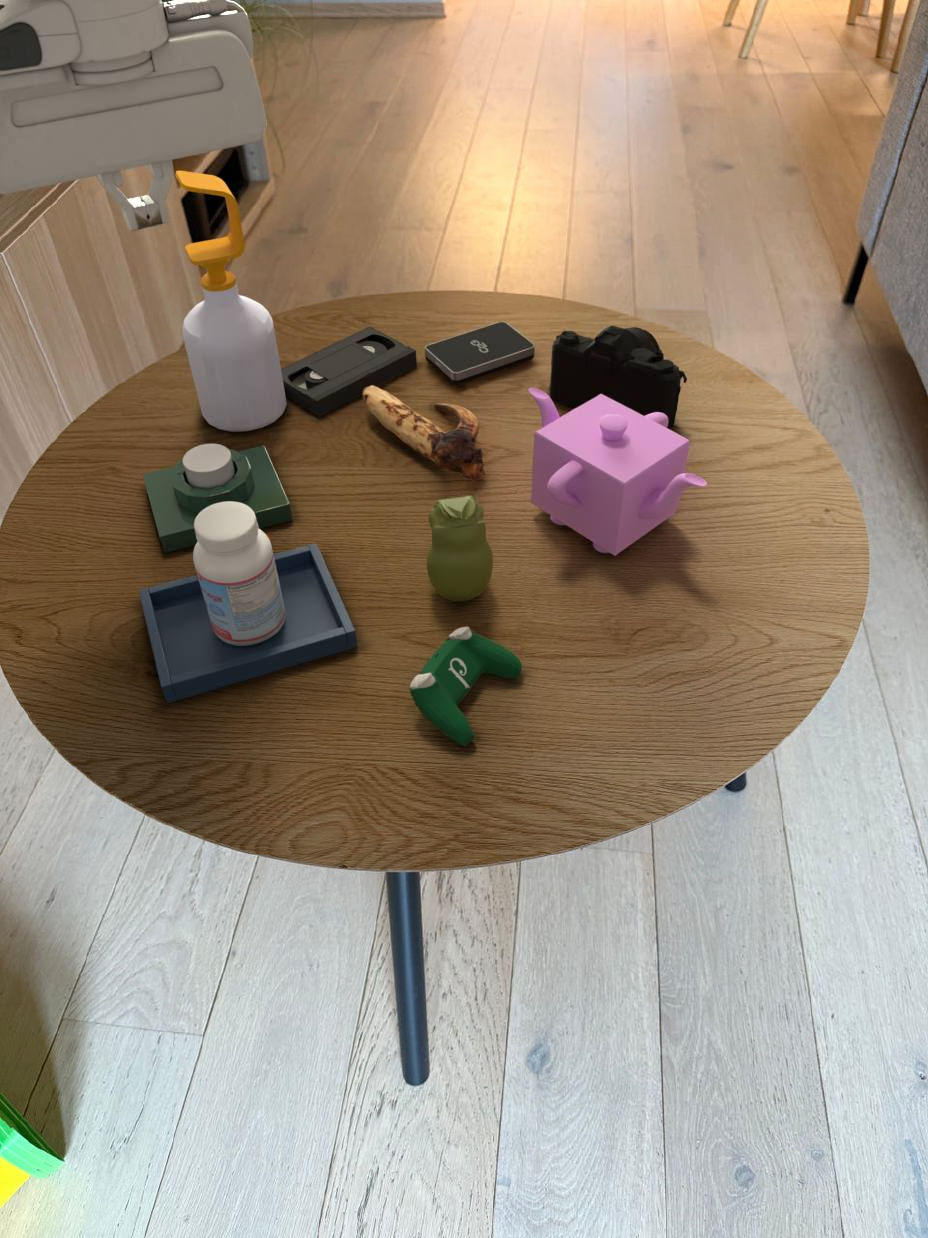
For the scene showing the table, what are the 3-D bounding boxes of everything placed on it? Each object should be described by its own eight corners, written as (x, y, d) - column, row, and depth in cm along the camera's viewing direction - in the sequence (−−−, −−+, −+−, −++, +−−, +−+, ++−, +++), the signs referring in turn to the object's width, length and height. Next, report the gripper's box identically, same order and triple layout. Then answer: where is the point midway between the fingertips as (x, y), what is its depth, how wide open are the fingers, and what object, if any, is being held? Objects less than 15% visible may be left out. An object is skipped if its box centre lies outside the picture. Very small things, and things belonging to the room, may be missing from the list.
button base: (164, 553, 86) (153, 519, 83) (147, 490, 92) (136, 456, 90) (292, 520, 89) (286, 486, 86) (267, 461, 96) (260, 428, 93)
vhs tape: (371, 341, 112) (370, 325, 110) (416, 365, 108) (415, 350, 106) (274, 388, 105) (271, 372, 103) (318, 417, 101) (316, 401, 99)
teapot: (516, 561, 85) (520, 462, 77) (524, 470, 94) (529, 374, 86) (688, 572, 84) (710, 473, 76) (680, 479, 93) (698, 382, 85)
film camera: (702, 399, 102) (717, 323, 96) (663, 444, 97) (676, 366, 90) (579, 359, 108) (585, 285, 102) (535, 399, 103) (539, 323, 96)
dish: (167, 703, 74) (161, 687, 72) (144, 606, 81) (138, 589, 80) (357, 647, 78) (355, 630, 76) (319, 559, 85) (316, 542, 84)
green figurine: (433, 617, 80) (429, 527, 73) (423, 575, 84) (418, 485, 76) (498, 608, 81) (499, 518, 73) (485, 566, 84) (485, 476, 77)
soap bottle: (194, 398, 104) (136, 165, 86) (275, 379, 106) (234, 149, 88) (212, 442, 98) (154, 202, 80) (297, 421, 100) (258, 184, 83)
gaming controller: (500, 675, 78) (455, 621, 76) (530, 665, 75) (483, 609, 73) (442, 754, 72) (391, 698, 71) (471, 747, 69) (419, 688, 68)
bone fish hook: (525, 463, 95) (413, 387, 105) (529, 424, 92) (413, 349, 101) (456, 500, 91) (345, 417, 100) (457, 460, 88) (342, 378, 97)
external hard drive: (536, 361, 108) (537, 346, 107) (453, 390, 104) (453, 374, 103) (503, 335, 112) (503, 320, 111) (422, 362, 108) (421, 346, 107)
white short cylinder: (192, 494, 86) (187, 476, 85) (183, 467, 89) (178, 449, 88) (239, 483, 87) (235, 464, 86) (229, 456, 90) (225, 438, 89)
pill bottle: (205, 610, 80) (174, 507, 72) (274, 589, 82) (252, 486, 74) (223, 658, 76) (193, 556, 68) (296, 635, 78) (275, 532, 70)
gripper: (229, -20, 67) (261, 181, 77) (-78, 25, 60) (1, 239, 70) (262, 0, 63) (291, 209, 73) (-62, 50, 56) (20, 273, 66)
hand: (147, 224), depth 71 cm, fingers closed
